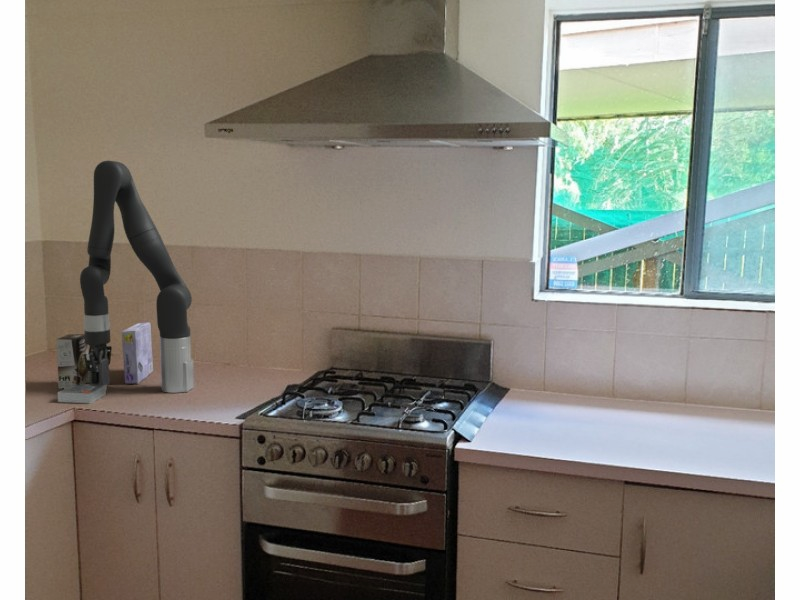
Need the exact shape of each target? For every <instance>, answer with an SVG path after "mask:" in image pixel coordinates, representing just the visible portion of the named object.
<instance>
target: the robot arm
mask: <svg viewBox="0 0 800 600" xmlns="http://www.w3.org/2000/svg"><path fill="white" fill-rule="evenodd" d="M93 171H94V172H93V204H92V216H91V217H92V218H91V225H90V230H89V231H90V232H89V236H88V243H87V247H86V248H87V250H86V251H87V254H88V256H89V257H88V266H86V267H84V268H83V269H82V270H81V272H80V277H79V285H80V289H81V293H82V294H81V295H82V298H83V308H84V309H83V310H84V313H83V314H84V319H83V328H84V330H83V331H84V334H85V343H86V344H88V354H84V359H85V364H86V369H87V371H90V372H91V379H92V383H93V384H98V383H99V365H100V362H101V360H102V359H104V358H105V359H106V358H107V359H109V366H110V364H111V360H112V359H111V357H112V347H113V346H112V345H107V344H109V343H111V323H110V315H109V314H110V313H109V301H108V296H106V295H105V289H104V288H105V285H106V284H107V283H108V282H109V279H110V276H111V268H112V267H111V265H112V259H111V255H112V250H113V245H114V240H115V213H114V212H115V204H116V205H117V207H118V209H119V211H120V212H119V213H120V216H121V220H122V225H123V226H122V227H123V230H124V233H125V237H126V238H127V240H128V242H129V244H130V246H131V249H132V250H133V252H134V254H135V256H136V257H137V258H138V259H139V261H140V262H141V263H142V264H143V265H144V267H146V268H147V271H149V273H151V275H152V276H153V278H154V279H155V282H156V284H157V286H158V288H159V292H158V295H157V297H156V322H157V328H158V331H159V341H160V342H159V345H160V346H159V347H160V348H159V350H160V353H159V354H160V380H161V381H160V383H161V391H163V392H165V393H172V394H173V393H176V394H177V393H188V392H190V391H191V390H192V389H194V387H195V380H194V378H195V377H194V375H195V374H194V358H192V349H191V348H192V347H191V344H192V343H191V342H192V341H191V328H190V326H189V324H188V312H187V311H188V309H189V308H190V307H191V305H192V294H191V291H190V290H189V288H188V286H187V284H186V283H185V282H184V280H183V278H182V276H181V275H180V274H179V272H178V271H177V269H176V267H175V265H174V263H173V260H172V258H171V255H170V253H169V251H168V250H167V247H166V245H165V243H164V241H163V239H162V237H161V234H160V232H159V230H158V228H157V227H156V225H155V224H154V223H155V222H154V221H153V219H152V217H151V215H150V213H149V211H148V210H147V208H146V206H145V205H144V203H143V201H142V200H141V197H140V194H139V191H138V189H137V186H136V183H135V181H134V178H133V176H132V173H131V172H130V169H129V168H128V166H127V165H125V164H124V163H122V162H121V161H115V160H104V161H103V160H102V161H101V162H99V163H98V164H97V165H96V166H95V168H94V170H93ZM95 361H98V362H95ZM95 364H96V366H95ZM89 365H90V366H89Z"/></svg>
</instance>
